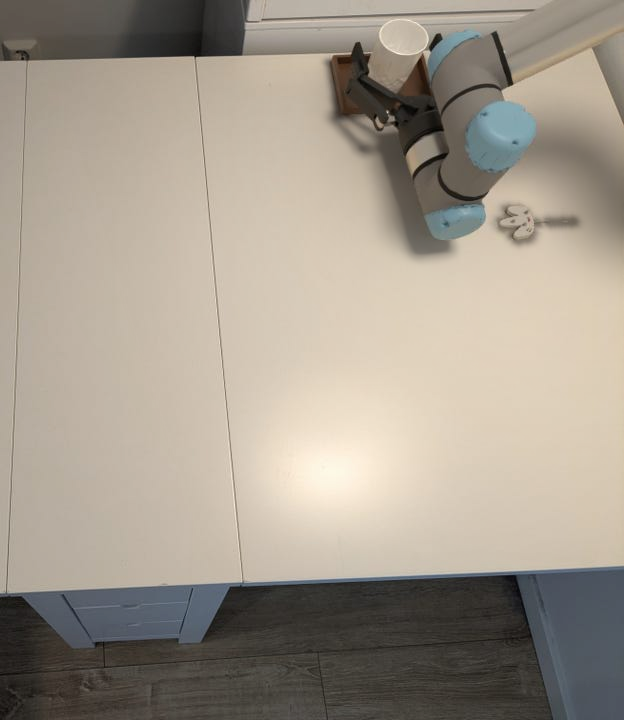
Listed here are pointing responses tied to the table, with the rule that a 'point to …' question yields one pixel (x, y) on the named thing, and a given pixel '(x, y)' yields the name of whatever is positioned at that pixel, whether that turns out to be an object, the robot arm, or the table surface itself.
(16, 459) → the table surface
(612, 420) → the table surface
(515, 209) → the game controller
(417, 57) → the white cup
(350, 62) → the tray
